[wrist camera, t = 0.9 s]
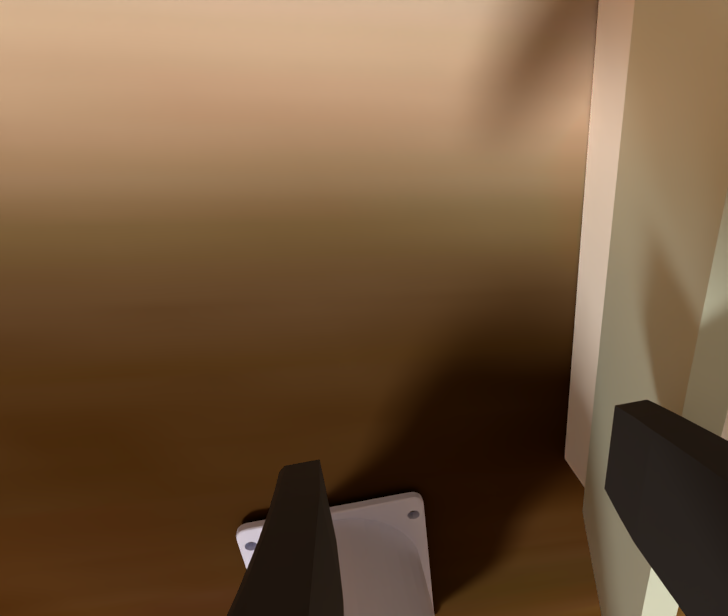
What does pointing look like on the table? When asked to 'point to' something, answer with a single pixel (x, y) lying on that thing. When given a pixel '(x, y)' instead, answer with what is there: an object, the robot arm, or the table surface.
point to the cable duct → (598, 221)
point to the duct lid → (663, 267)
